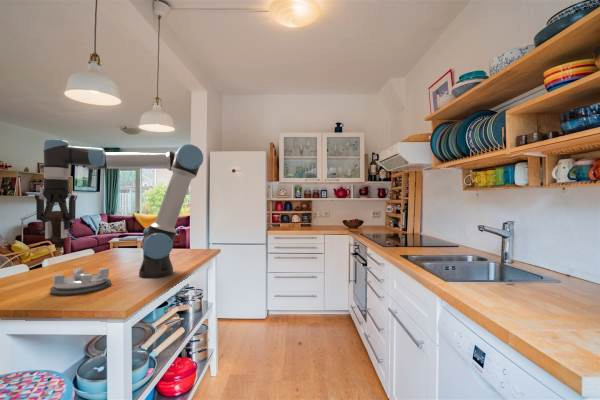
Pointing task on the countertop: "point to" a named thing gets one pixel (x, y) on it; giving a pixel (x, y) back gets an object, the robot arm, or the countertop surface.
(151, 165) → the robot arm
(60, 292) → the dark round base plate
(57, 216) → the bolt
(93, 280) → the grey round fixture plate
